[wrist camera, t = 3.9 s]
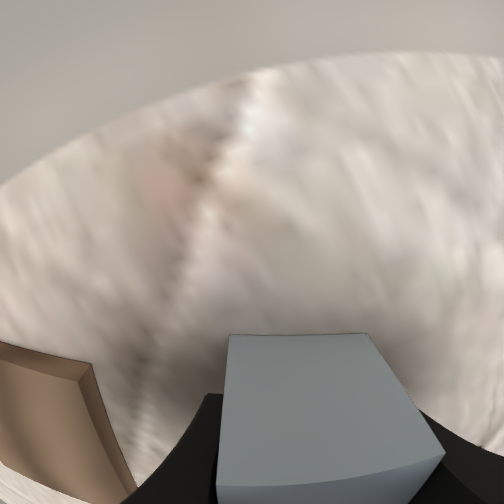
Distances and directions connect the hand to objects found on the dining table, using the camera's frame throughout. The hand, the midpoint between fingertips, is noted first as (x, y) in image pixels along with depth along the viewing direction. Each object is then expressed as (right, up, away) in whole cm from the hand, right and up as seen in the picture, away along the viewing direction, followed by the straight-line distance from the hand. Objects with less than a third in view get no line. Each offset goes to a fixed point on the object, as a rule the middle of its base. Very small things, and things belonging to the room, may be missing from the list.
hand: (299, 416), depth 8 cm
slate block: (0, 0, +1) cm, 1 cm away
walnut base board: (-13, -4, +2) cm, 14 cm away
